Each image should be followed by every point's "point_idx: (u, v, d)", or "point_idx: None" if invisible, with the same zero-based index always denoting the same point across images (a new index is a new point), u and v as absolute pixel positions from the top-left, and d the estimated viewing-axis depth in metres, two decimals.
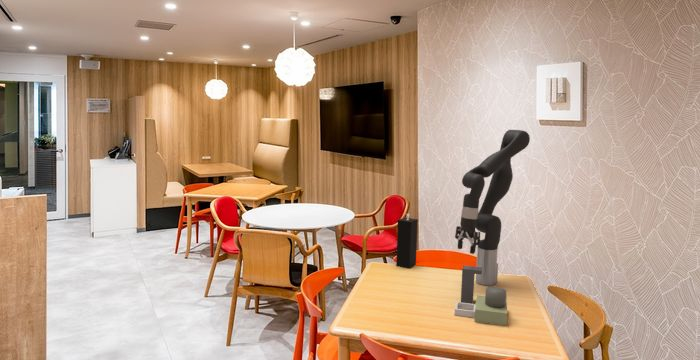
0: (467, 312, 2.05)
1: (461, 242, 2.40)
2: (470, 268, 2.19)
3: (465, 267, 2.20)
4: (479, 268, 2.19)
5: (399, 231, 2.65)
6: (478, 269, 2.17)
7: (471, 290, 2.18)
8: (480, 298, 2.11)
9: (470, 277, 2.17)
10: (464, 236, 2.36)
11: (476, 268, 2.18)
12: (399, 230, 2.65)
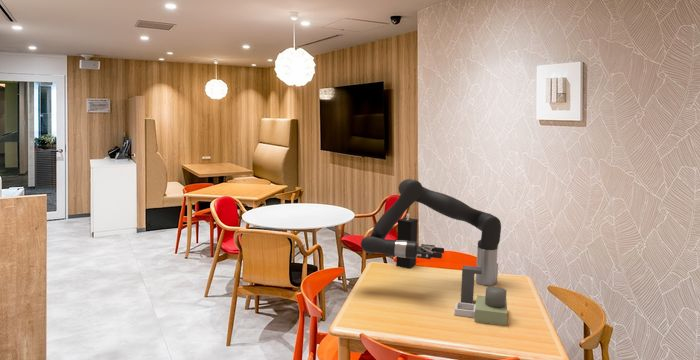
0: (467, 312, 2.05)
1: (436, 249, 2.26)
2: (470, 268, 2.19)
3: (465, 267, 2.20)
4: (479, 268, 2.19)
5: (399, 231, 2.65)
6: (478, 269, 2.17)
7: (471, 290, 2.18)
8: (480, 298, 2.11)
9: (470, 277, 2.17)
10: None
11: (476, 268, 2.18)
12: (399, 230, 2.65)
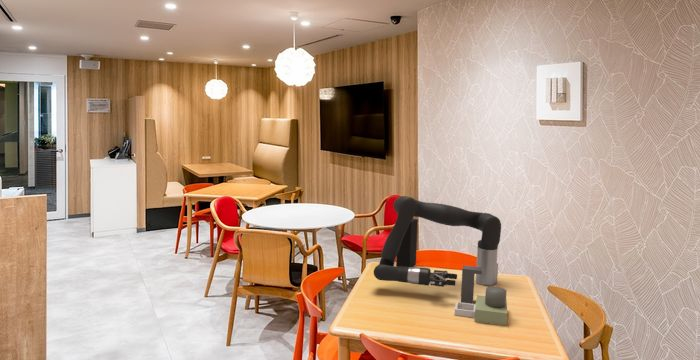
0: (467, 312, 2.05)
1: (449, 275, 2.26)
2: (470, 268, 2.19)
3: (465, 267, 2.20)
4: (479, 268, 2.19)
5: None
6: (478, 269, 2.17)
7: (471, 290, 2.18)
8: (480, 298, 2.11)
9: (470, 277, 2.17)
10: None
11: (477, 268, 2.18)
12: None
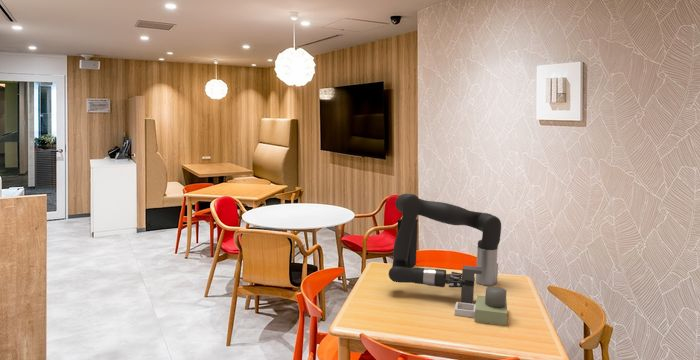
0: (467, 312, 2.05)
1: None
2: (470, 268, 2.19)
3: (465, 267, 2.20)
4: (479, 268, 2.19)
5: None
6: (478, 269, 2.17)
7: (471, 290, 2.18)
8: (480, 298, 2.11)
9: (470, 277, 2.17)
10: None
11: (477, 268, 2.18)
12: None
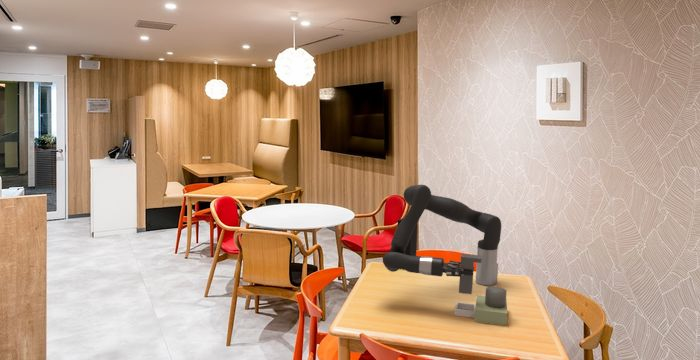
0: (467, 312, 2.05)
1: None
2: (469, 256, 2.05)
3: (464, 255, 2.07)
4: (478, 256, 2.05)
5: None
6: (477, 257, 2.04)
7: (470, 280, 2.04)
8: (480, 298, 2.11)
9: (469, 266, 2.04)
10: None
11: (476, 257, 2.05)
12: None
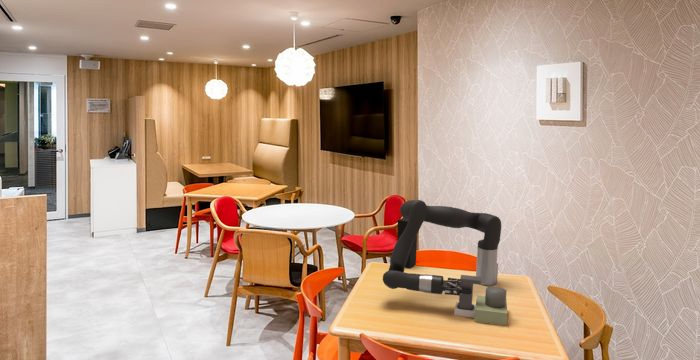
0: (467, 312, 2.05)
1: None
2: (468, 278, 2.06)
3: (463, 276, 2.08)
4: (478, 278, 2.06)
5: (399, 231, 2.65)
6: (477, 279, 2.05)
7: (469, 301, 2.06)
8: (480, 298, 2.11)
9: None
10: None
11: (475, 278, 2.06)
12: (399, 230, 2.65)
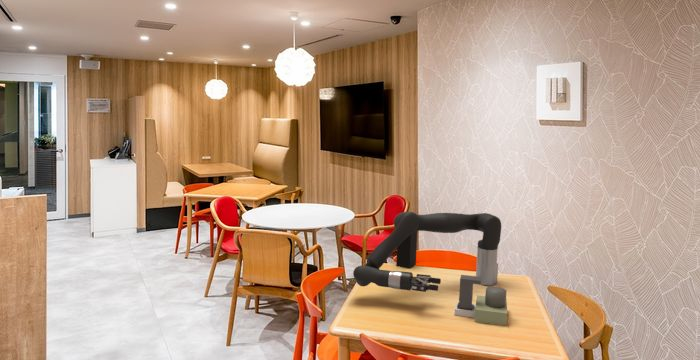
0: (467, 312, 2.05)
1: (433, 280, 2.15)
2: (468, 278, 2.06)
3: (463, 276, 2.08)
4: (478, 278, 2.06)
5: None
6: (476, 279, 2.05)
7: (469, 301, 2.06)
8: (480, 298, 2.11)
9: (468, 288, 2.05)
10: None
11: (475, 278, 2.06)
12: None
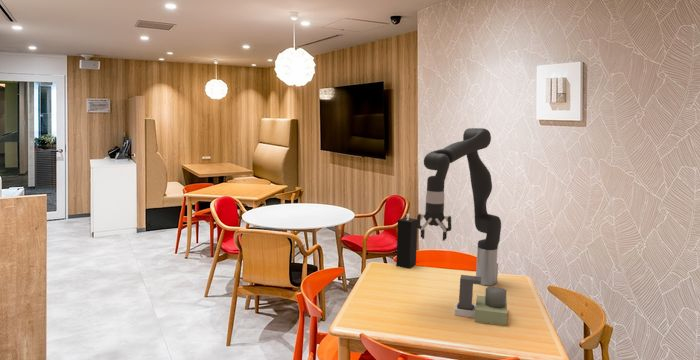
0: (467, 312, 2.05)
1: (424, 231, 2.15)
2: (468, 278, 2.06)
3: (463, 276, 2.08)
4: (478, 278, 2.06)
5: (399, 231, 2.65)
6: (477, 279, 2.05)
7: (469, 301, 2.06)
8: (480, 298, 2.11)
9: (468, 288, 2.05)
10: (431, 224, 2.12)
11: (475, 278, 2.06)
12: (399, 230, 2.65)
